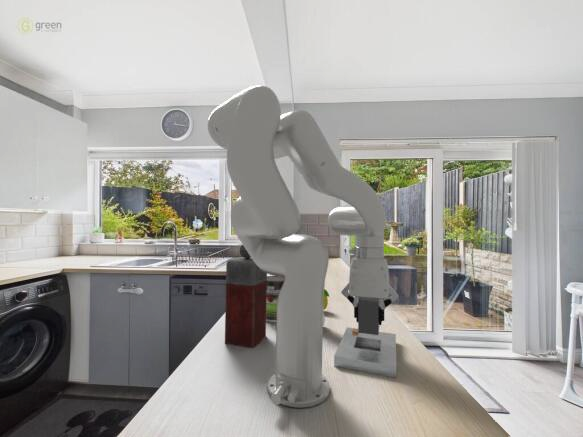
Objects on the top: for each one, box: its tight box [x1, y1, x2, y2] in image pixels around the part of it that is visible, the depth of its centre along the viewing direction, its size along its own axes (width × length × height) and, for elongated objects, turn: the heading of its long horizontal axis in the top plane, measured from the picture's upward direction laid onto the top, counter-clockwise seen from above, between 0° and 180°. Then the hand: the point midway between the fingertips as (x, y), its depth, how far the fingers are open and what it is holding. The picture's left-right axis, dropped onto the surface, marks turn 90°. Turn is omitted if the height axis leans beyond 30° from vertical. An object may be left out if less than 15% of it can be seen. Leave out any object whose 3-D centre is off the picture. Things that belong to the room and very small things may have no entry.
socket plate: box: [333, 327, 397, 378], centre depth 75 cm, size 20×14×3 cm
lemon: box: [323, 288, 330, 310], centre depth 110 cm, size 7×6×10 cm
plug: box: [357, 297, 381, 335], centre depth 77 cm, size 9×5×8 cm, turn 160°
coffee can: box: [266, 275, 285, 323], centre depth 102 cm, size 10×10×14 cm
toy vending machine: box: [224, 244, 268, 349], centre depth 84 cm, size 9×11×28 cm
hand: (369, 321), depth 75 cm, fingers closed on plug, 5 cm apart
